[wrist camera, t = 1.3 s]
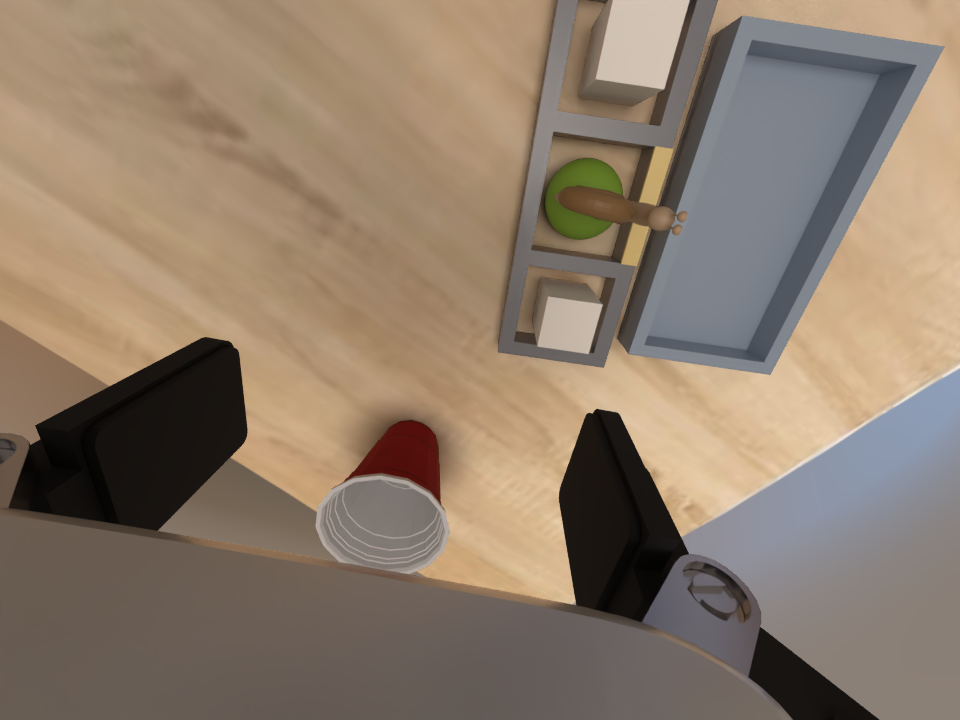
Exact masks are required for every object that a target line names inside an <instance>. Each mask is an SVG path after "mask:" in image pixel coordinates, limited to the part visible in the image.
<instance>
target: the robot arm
mask: <svg viewBox="0 0 960 720" xmlns="http://www.w3.org/2000/svg"><path fill="white" fill-rule="evenodd" d="M35 426H36V429H37V431H38V434H39V436H40V440H39V441H37V442H35V443H33V444H32V445H30V443H29V441H28V440H27V439H26V438H24V437H23V436H20V435H16V434H12V433H0V720H879V719H878V718H876V717H875V716H874V715H872V714H871V713H870V712H869V711H868V710H866V709H865V708H864V707H862V706H861V705H860V704H859V703H857V702H856V701H855V700H853V699H852V698H851V697H849V696H848V695H847V694H846V693H844V692H843V691H842V690H840V689H839V688H838V687H837V686H835V685H834V684H833V683H832V682H830V681H829V680H828V679H826V678H825V677H824V676H823V675H821V674H820V673H819V672H818V671H816V670H815V669H814V668H812V667H811V666H810V665H808V664H807V663H806V662H805V661H803V660H802V659H801V658H800V657H798V656H797V655H795V654H794V653H793V652H792V651H791V650H789V649H788V648H787V647H785V646H784V645H783V644H782V643H780V642H779V641H778V640H776V639H775V638H774V637H773V636H771V635H770V634H769V633H768V632H766V631H765V630H764V629H762V628H761V627H760V625H761V611H760V608H759V605H758V603H757V600H756V598H755V597H754V595H753V594H752V592H751V591H750V589H749V588H748V587H747V586H746V585H745V584H744V583H743V582H742V581H741V579H739V578H738V576H737V575H735V574H734V573H733V572H732V571H730V570H729V569H728V568H726V567H725V566H723V565H722V564H720V563H718V562H716V561H714V560H712V559H710V558H707V557H704V556H701V555H694V554H689V553H688V551H687V549H686V547H685V545H684V542H683V540H682V538H681V536H680V534H679V532H678V530H677V528H676V526H675V524H674V522H673V520H672V518H671V516H670V514H669V512H668V510H667V508H666V506H665V504H664V502H663V500H662V497H661V495H660V493H659V491H658V489H657V487H656V485H655V483H654V481H653V479H652V477H651V475H650V473H649V472H648V470H647V469H646V468H645V466H644V464H643V462H642V460H641V458H640V456H639V454H638V452H637V450H636V448H635V445H634V443H633V441H632V439H631V437H630V435H629V433H628V431H627V429H626V427H625V425H624V423H623V421H622V419H621V416H620V415H619V413H616V412H611V411H605V410H600V409H596V410H595V411H594V412H593V414H592V413H588V414H587V415H586V417H585V419H584V422H583V425H582V428H581V430H580V433H579V436H578V439H577V442H576V445H575V447H574V450H573V453H572V456H571V459H570V462H569V464H568V467H567V470H566V473H565V476H564V478H563V481H562V484H561V487H560V491H559V503H560V509H561V515H562V521H563V528H564V534H565V540H566V546H567V552H568V558H569V564H570V570H571V576H572V582H573V588H574V594H575V600H576V605H571V604H566V603H561V602H556V601H551V600H546V599H541V598H536V597H531V596H526V595H521V594H516V593H510V592H505V591H500V590H494V589H489V588H483V587H478V586H472V585H466V584H461V583H455V582H450V581H444V580H438V579H433V578H427V577H422V576H416V575H410V574H405V573H399V572H394V571H388V570H382V569H377V568H371V567H365V566H360V565H354V564H348V563H342V562H337V561H331V560H325V559H319V558H314V557H308V556H302V555H296V554H290V553H285V552H279V551H273V550H266V549H261V548H255V547H250V546H244V545H238V544H232V543H226V542H220V541H214V540H208V539H202V538H196V537H190V536H184V535H178V534H172V533H166V532H160V531H158V530H159V528H161V527H162V526H163V525H164V524H165V522H167V521H168V520H169V519H170V518H171V517H172V515H174V514H175V512H176V511H177V510H179V508H180V507H181V506H182V505H183V504H184V503H185V502H186V501H187V500H188V499H189V498H190V497H191V496H192V495H193V494H194V493H195V492H196V491H197V490H198V489H199V488H200V487H201V486H202V485H203V484H204V483H205V482H206V481H207V480H208V479H209V478H210V477H211V476H212V475H213V474H214V473H215V472H216V471H217V470H218V469H219V468H220V467H221V466H222V465H223V464H224V463H225V462H226V461H227V460H228V459H229V458H230V457H231V456H232V455H233V454H234V453H235V452H236V451H237V450H238V449H239V448H240V447H241V446H242V445H243V443H244V442H245V440H246V437H247V421H246V412H245V403H244V394H243V385H242V375H241V366H240V357H239V352H238V350H237V349H236V348H234V347H233V345H232V343H231V342H229V341H224V340H219V339H213V338H208V337H204V338H201V339H199V340H197V341H195V342H193V343H191V344H190V345H188V346H186V347H184V348H182V349H180V350H178V351H176V352H174V353H172V354H171V355H169V356H167V357H165V358H163V359H161V360H159V361H157V362H155V363H153V364H152V365H150V366H148V367H146V368H144V369H142V370H140V371H138V372H136V373H134V374H132V375H131V376H129V377H127V378H125V379H123V380H121V381H119V382H117V383H115V384H113V385H112V386H110V387H108V388H106V389H104V390H102V391H100V392H98V393H96V394H94V395H93V396H91V397H89V398H87V399H85V400H83V401H81V402H79V403H77V404H75V405H74V406H72V407H70V408H68V409H66V410H64V411H62V412H60V413H58V414H56V415H54V416H53V417H51V418H49V419H47V420H45V421H43V422H41V423H39V424H37V425H35Z"/></svg>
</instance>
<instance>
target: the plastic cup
mask: <svg viewBox="0 0 960 720" xmlns="http://www.w3.org/2000/svg"><path fill="white" fill-rule="evenodd" d="M315 527H316V529H317V532H318V534H319V537H320V539H321V541H322V544H323V546H324V547H325V548H326V549H327V550H328V551H329V552H330V553H331V554H332V555H333V556H334V557H335V558H336V559H337V560H338V561H339V562H342V563H348V564H354V565H360V566H365V567H371V568H377V569H382V570H388V571H394V572H399V573H405V574H410V573H413V572H415V571H417V570H420V569H422V568H424V567H426V566H429V565H430V564H431V563H432V562H433V561H434V560H435V559H436V558H437V557H438V556H439V555H440V554H441V553H442V552H443V551H444V549H445V546H446V543H447V540H448V536H449V533H450V531H449V526H448V522H447V517H446V513H445V509H444V508H443V507H442V505H441V501H440V466H439V448H438V443H437V439H436V436H435V434H434V433H433V432H432V430H431V429H430V428H429V427H427V426H425V425H424V424H422V423H420V422H416V421H412V420H410V421H400V422H398V423H396V424H394V425H392V427H390V428H389V429H388V430H387V432H386V433H385V434H384V435H383V437H382V438H381V439H380V440H379V441H378V442H377V443H376V444H375V446H374V447H373V448H372V449H371V451H370V452H369V453H368V454H367V456H366V457H365V458H364V460H363V461H362V462H361V463H360V465H359V466H358V467H357V468H356V470H355V471H354V472H352V473H351V475H350V476H349V477H348V478H347V479H345V481H344V482H343V483H341V484H339V485H337V486H335V487H333V488H332V489H331V490H330V492H329V493H328V494H327V496H326V497H325V498H324V500H323V501H322V502H321V504H320V505H319V506H318V510H317V518H316V526H315Z"/></svg>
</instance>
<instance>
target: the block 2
mask: <svg viewBox="0 0 960 720" xmlns="http://www.w3.org/2000/svg"><path fill="white" fill-rule="evenodd" d="M689 1H690V0H608V1H607V3H606V5H605V6H604V8H603V10H602V12H601V13H600V15H599V17H598V18H597V20H596V22H595V23H594V25H593V27H592V31H591V36H590V40H589V45H588V50H587V55H586V60H585V65H584V70H583V75H582V79H581V84H580V89H579V94H578V98H581V99H588V100H594V101H601V102H608V103H614V104H621V105H627V106H634V105H636V104H638V103H640V102H642V101H644V100H646V99H647V98H649V97H651V96H653V95H655V94H657V93H659V92H660V91H662V90H664V88H665V85H666V81H667V78H668V74H669V71H670V67H671V64H672V60H673V57H674V53H675V50H676V46H677V43H678V39H679V36H680V32H681V29H682V25H683V22H684V18H685V15H686V11H687V8H688V4H689Z"/></svg>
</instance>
